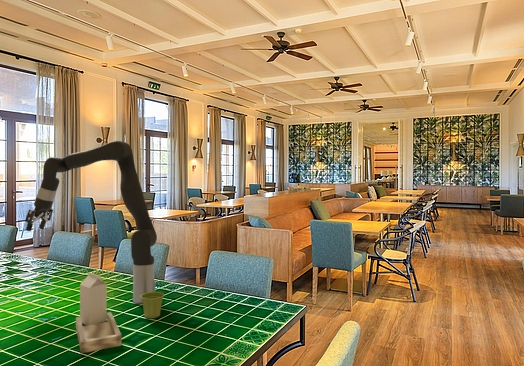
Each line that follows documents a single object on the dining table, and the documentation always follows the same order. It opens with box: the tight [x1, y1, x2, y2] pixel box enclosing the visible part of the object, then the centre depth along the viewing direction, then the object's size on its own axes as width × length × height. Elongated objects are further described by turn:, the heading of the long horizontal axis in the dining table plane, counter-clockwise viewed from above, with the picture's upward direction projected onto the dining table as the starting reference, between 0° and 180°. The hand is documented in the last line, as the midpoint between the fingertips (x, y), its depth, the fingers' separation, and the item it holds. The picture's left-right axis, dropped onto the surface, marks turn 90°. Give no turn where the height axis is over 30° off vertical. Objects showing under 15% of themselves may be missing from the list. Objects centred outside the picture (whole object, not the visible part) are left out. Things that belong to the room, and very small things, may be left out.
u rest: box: [75, 311, 123, 354], centre depth 140 cm, size 13×24×4 cm, turn 29°
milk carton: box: [79, 272, 108, 326], centre depth 152 cm, size 7×7×19 cm
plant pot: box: [140, 291, 165, 319], centre depth 160 cm, size 9×9×9 cm
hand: (34, 229), depth 184 cm, fingers open, 8 cm apart
